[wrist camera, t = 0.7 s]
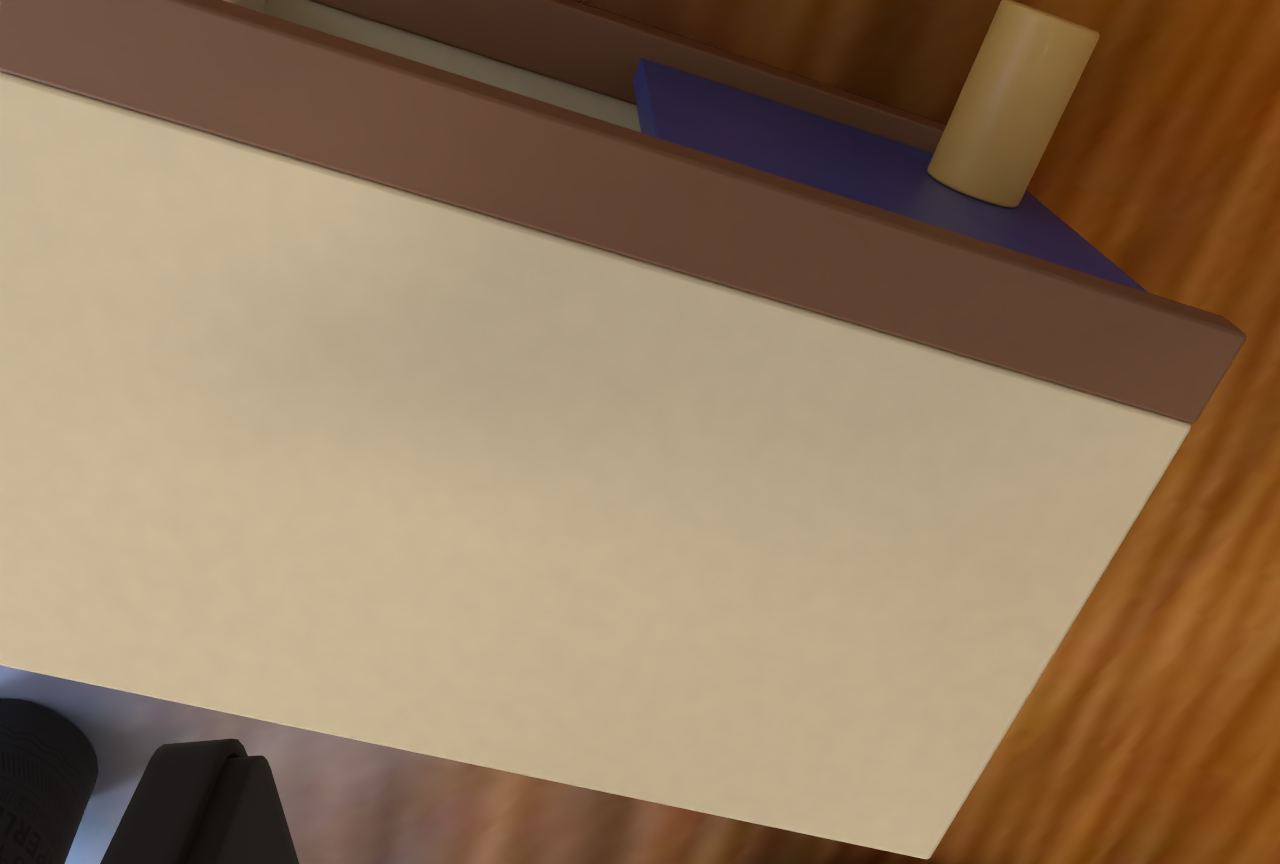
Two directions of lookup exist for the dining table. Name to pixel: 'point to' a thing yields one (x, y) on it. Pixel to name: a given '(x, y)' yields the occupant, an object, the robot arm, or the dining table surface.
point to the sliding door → (901, 174)
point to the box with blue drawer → (541, 411)
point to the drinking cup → (41, 783)
